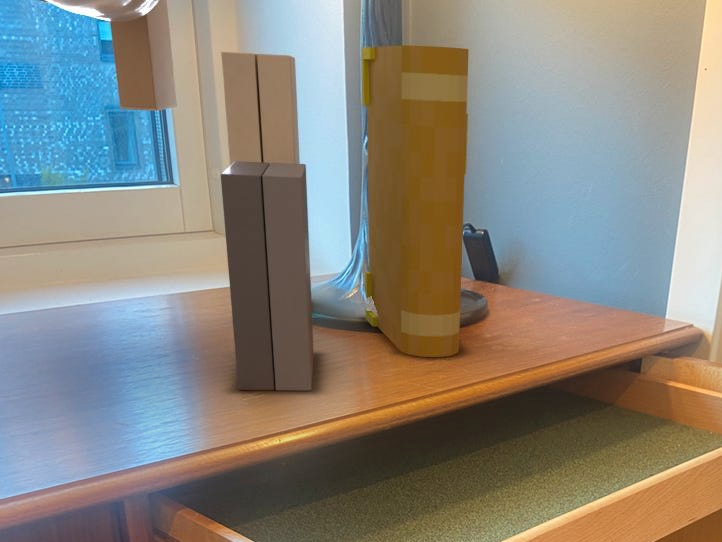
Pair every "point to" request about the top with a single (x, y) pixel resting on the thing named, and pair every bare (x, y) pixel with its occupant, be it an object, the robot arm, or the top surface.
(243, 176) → the grey books
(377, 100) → the book
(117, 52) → the cream book
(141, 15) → the robot arm
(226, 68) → the cream books
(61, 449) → the top surface
